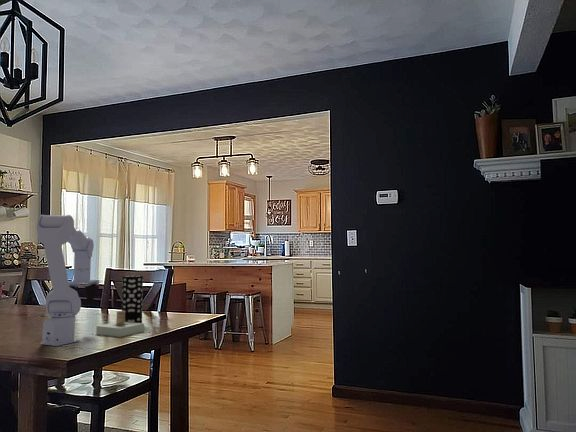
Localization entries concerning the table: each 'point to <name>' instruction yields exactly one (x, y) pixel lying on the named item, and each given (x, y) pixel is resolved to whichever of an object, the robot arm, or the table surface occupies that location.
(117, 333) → the wick holder
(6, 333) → the table surface
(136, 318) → the spotted tube
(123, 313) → the peg
